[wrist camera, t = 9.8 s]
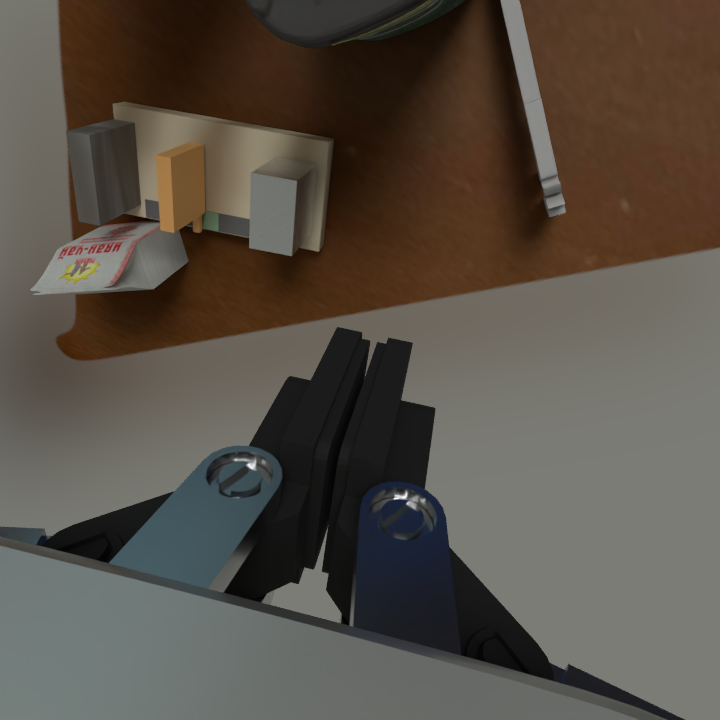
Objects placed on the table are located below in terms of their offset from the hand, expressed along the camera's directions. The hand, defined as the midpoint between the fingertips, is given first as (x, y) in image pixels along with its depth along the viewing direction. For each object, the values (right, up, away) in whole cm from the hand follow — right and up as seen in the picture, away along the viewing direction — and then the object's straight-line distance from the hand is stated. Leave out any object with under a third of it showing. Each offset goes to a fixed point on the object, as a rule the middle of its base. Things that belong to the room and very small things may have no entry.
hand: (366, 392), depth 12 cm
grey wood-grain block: (-5, +13, +28) cm, 31 cm away
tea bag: (-18, +11, +35) cm, 41 cm away
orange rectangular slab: (-12, +13, +29) cm, 35 cm away
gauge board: (-10, +15, +30) cm, 35 cm away
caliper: (+10, +21, +23) cm, 32 cm away
